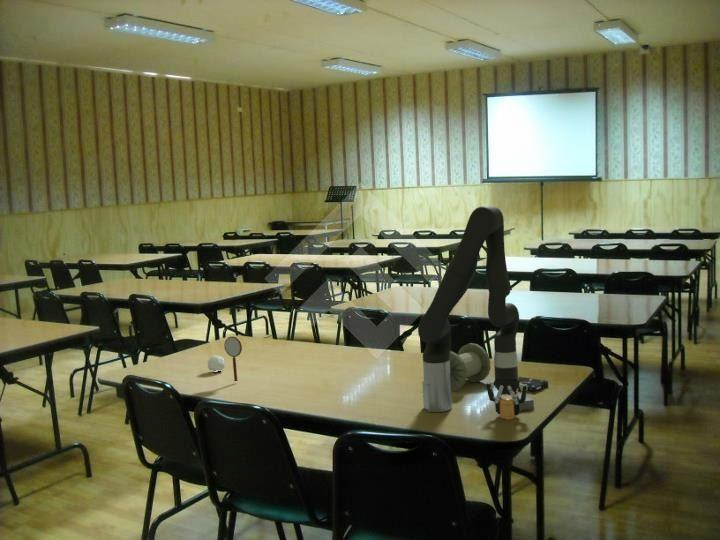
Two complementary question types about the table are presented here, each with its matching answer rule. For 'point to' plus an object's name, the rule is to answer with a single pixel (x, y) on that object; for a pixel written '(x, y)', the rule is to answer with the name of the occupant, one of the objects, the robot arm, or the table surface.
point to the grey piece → (527, 403)
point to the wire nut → (507, 408)
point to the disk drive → (533, 384)
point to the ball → (216, 363)
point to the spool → (468, 365)
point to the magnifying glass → (233, 351)
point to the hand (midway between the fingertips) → (508, 413)
